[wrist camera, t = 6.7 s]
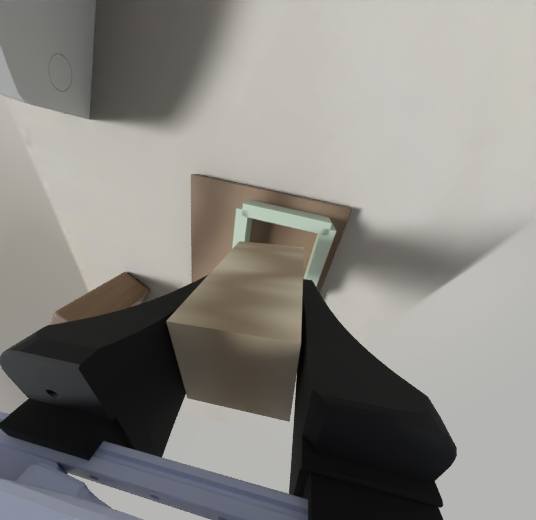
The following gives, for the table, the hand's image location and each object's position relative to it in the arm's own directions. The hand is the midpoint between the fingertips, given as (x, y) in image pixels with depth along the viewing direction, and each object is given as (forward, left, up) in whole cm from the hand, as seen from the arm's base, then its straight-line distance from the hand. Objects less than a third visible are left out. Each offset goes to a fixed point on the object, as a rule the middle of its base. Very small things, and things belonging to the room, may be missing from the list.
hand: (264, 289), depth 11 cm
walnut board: (+2, +6, -9) cm, 11 cm away
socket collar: (0, +1, -8) cm, 8 cm away
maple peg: (0, 0, -2) cm, 2 cm away
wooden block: (+18, +12, -9) cm, 23 cm away
